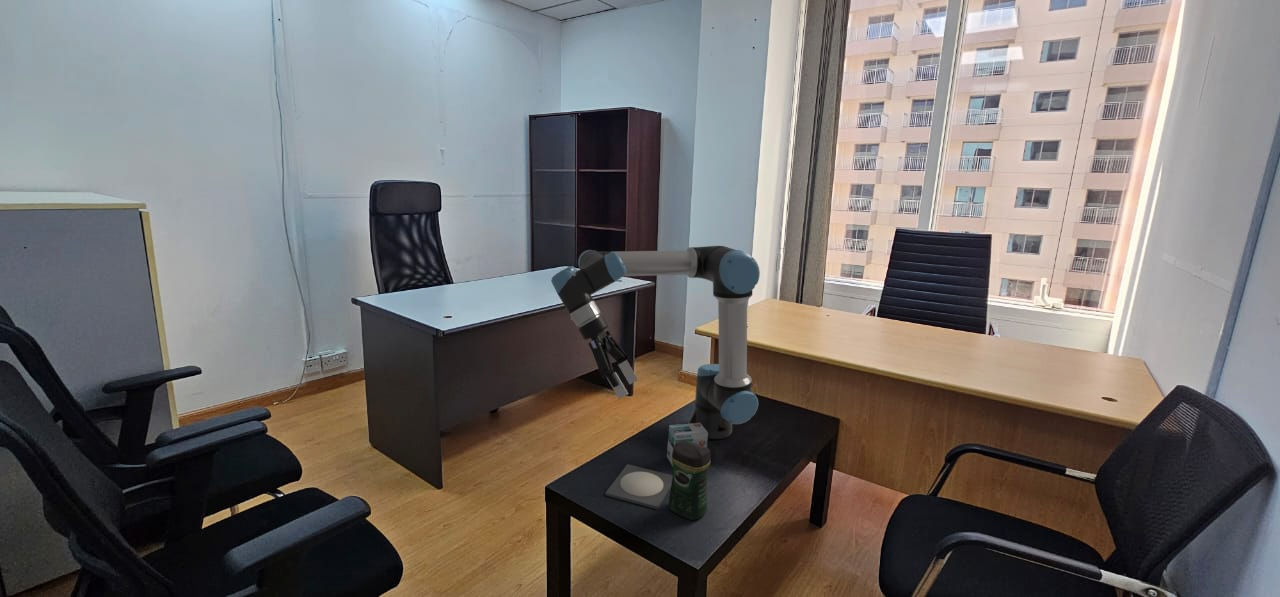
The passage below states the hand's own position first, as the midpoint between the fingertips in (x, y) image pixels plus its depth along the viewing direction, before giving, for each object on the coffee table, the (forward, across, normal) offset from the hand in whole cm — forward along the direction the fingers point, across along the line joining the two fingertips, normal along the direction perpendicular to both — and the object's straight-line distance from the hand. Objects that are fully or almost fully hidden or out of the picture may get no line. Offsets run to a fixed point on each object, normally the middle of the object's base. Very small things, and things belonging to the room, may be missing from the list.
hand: (629, 389), depth 143 cm
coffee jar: (+34, +6, -1) cm, 35 cm away
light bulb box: (+31, -19, -2) cm, 36 cm away
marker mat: (+26, -1, -12) cm, 28 cm away
